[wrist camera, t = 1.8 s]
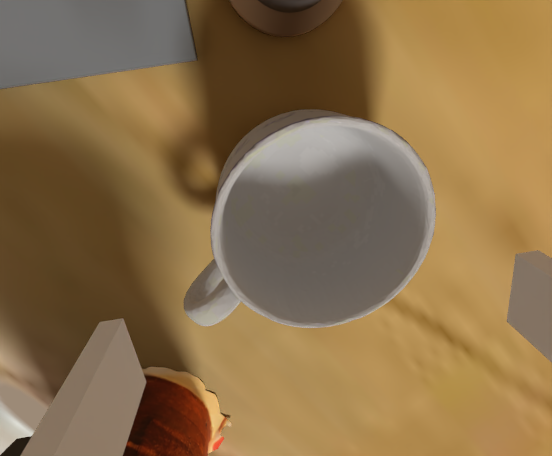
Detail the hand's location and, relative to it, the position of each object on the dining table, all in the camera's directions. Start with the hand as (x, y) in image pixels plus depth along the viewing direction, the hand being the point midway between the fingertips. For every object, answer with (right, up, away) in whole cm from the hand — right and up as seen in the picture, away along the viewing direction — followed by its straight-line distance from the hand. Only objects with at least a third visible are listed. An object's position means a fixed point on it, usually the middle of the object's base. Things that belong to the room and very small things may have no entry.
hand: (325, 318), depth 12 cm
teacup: (-1, +5, +12) cm, 13 cm away
